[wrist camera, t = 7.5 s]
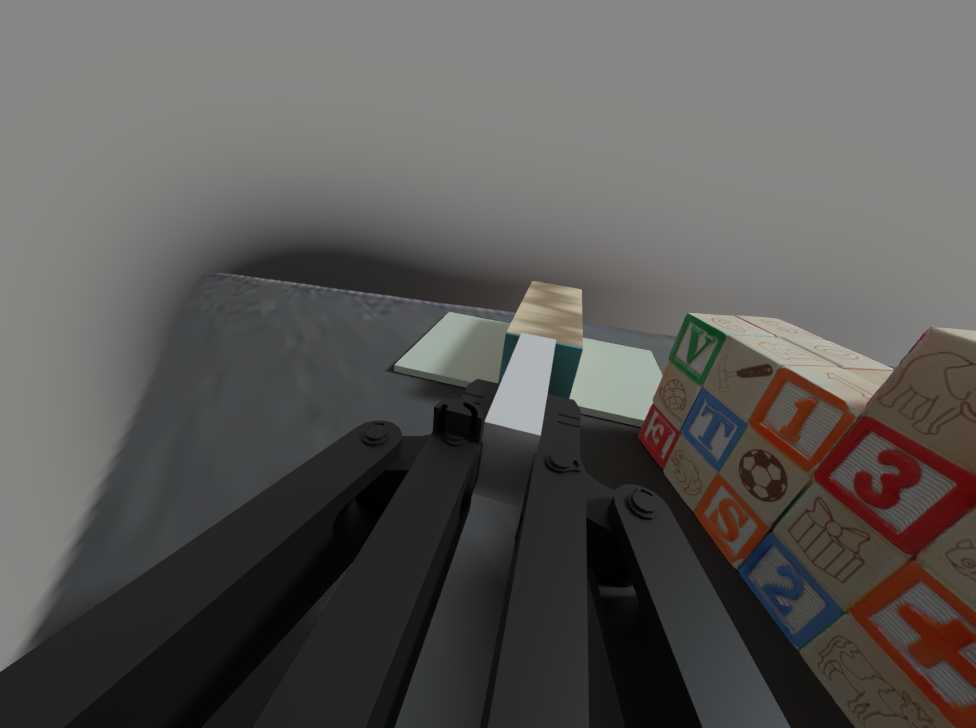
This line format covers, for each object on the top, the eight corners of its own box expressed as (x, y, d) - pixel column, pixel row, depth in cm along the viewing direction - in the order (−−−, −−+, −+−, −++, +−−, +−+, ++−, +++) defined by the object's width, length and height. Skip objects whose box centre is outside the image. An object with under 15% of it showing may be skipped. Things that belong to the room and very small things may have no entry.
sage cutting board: (649, 356, 36) (651, 351, 36) (684, 436, 24) (687, 430, 24) (448, 316, 39) (449, 312, 39) (394, 371, 27) (394, 365, 27)
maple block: (565, 413, 24) (570, 334, 37) (583, 349, 22) (581, 289, 35) (495, 397, 25) (524, 325, 38) (505, 333, 22) (532, 280, 35)
